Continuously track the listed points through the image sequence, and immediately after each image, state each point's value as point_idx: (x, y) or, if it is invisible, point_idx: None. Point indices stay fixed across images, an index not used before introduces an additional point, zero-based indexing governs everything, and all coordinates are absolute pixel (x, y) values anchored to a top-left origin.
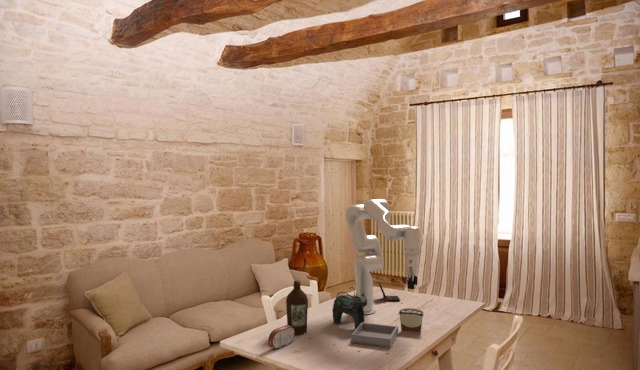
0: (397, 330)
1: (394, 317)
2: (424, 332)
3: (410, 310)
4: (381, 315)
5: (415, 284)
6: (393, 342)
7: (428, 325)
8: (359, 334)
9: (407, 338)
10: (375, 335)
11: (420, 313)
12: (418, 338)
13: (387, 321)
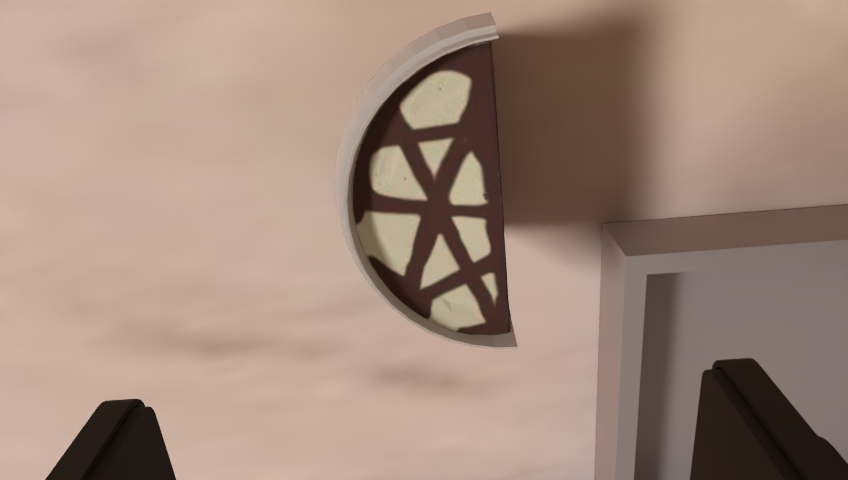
0: (660, 241)
1: (141, 373)
2: (436, 2)
3: (375, 237)
4: None
5: (151, 432)
6: (830, 207)
7: (187, 12)
8: None
9: (674, 122)
10: None
11: (458, 78)
12: (642, 20)
13: (285, 394)
